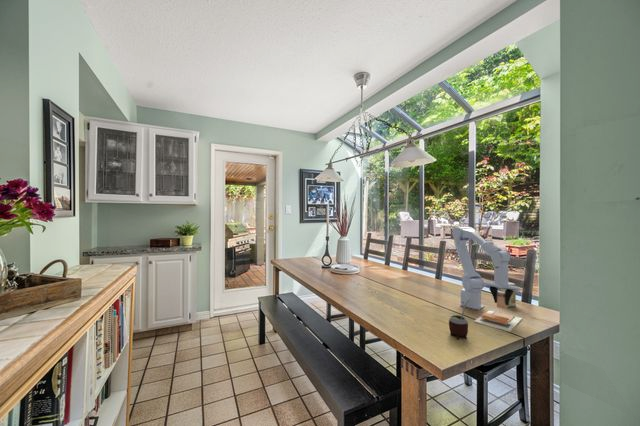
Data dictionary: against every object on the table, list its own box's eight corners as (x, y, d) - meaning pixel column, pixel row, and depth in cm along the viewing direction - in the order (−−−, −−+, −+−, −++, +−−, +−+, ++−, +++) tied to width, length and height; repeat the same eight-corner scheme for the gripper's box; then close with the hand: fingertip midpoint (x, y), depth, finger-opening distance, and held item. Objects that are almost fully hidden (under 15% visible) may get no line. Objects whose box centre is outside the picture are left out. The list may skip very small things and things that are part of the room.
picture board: (474, 322, 124) (474, 320, 124) (488, 311, 137) (488, 310, 137) (510, 332, 114) (510, 330, 114) (522, 319, 127) (522, 317, 127)
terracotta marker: (495, 306, 129) (495, 292, 129) (498, 305, 132) (498, 291, 132) (505, 309, 126) (505, 294, 126) (508, 307, 128) (507, 292, 129)
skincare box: (507, 307, 143) (507, 284, 143) (499, 304, 147) (499, 282, 147) (516, 305, 145) (516, 283, 145) (508, 303, 149) (508, 281, 149)
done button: (481, 317, 125) (481, 314, 125) (484, 315, 127) (484, 312, 127) (506, 324, 117) (506, 321, 117) (509, 321, 120) (509, 318, 120)
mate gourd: (448, 337, 109) (447, 301, 109) (450, 330, 116) (450, 296, 116) (468, 342, 105) (468, 304, 105) (470, 334, 112) (469, 299, 112)
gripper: (481, 274, 132) (482, 301, 132) (517, 279, 121) (517, 309, 121) (486, 272, 136) (486, 298, 136) (521, 277, 125) (521, 305, 125)
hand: (501, 303), depth 129 cm, fingers closed on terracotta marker, 4 cm apart
